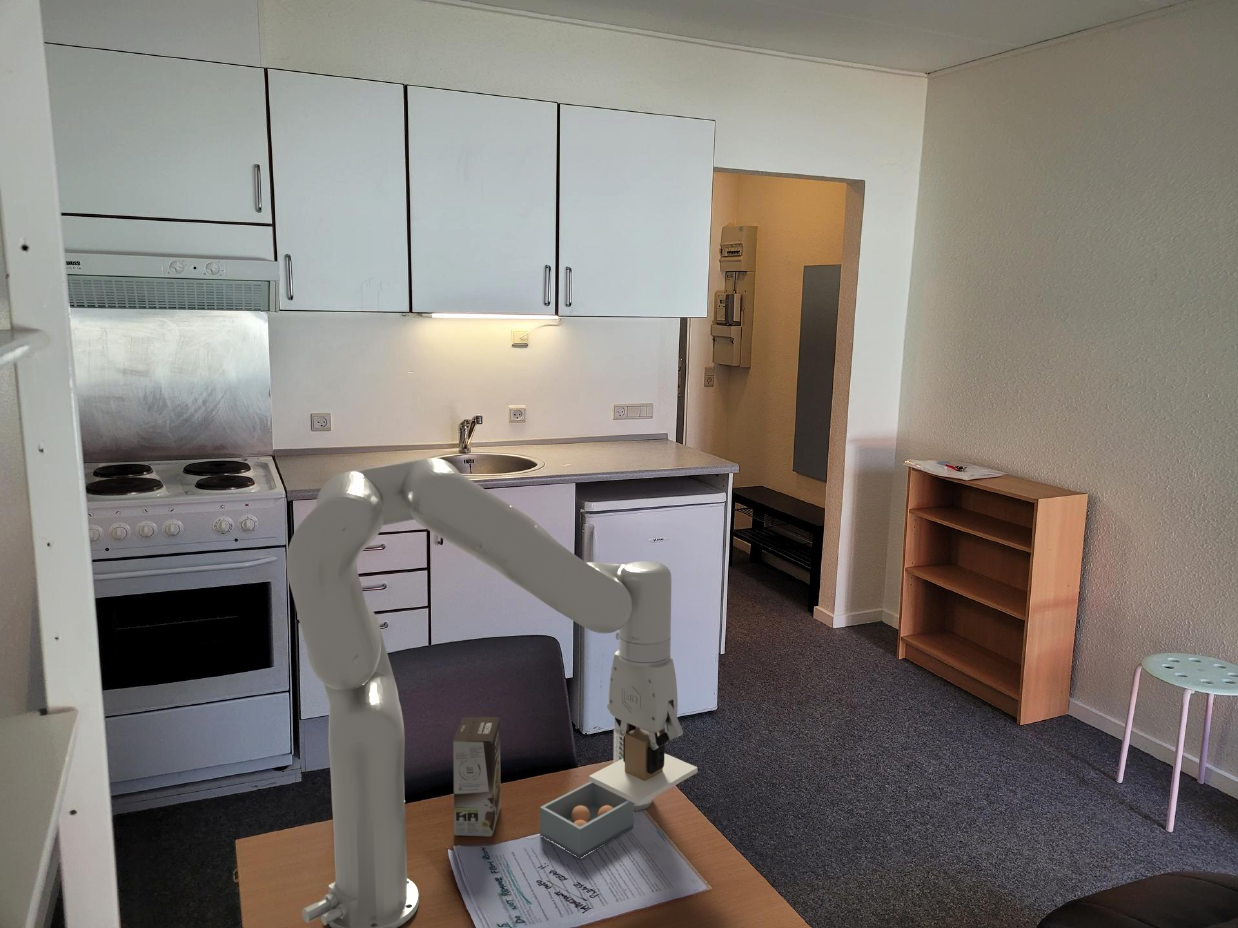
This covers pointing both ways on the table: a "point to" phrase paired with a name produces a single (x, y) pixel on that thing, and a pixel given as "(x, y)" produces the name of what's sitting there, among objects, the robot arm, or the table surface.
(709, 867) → the table surface
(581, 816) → the ball
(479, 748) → the coffee box
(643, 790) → the lid
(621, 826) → the box
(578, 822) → the ball
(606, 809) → the ball
